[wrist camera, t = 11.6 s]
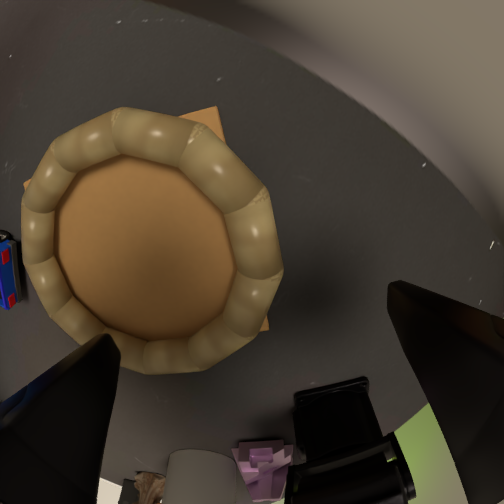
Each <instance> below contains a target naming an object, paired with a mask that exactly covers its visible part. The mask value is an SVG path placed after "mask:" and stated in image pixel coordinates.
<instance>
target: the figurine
mask: <svg viewBox="0 0 504 504" xmlns="http://www.w3.org/2000/svg"><path fill="white" fill-rule="evenodd" d="M134 478H135V480H136V482H135V483H134V485H135V488H137V489H138V490H139V492H140V493H139V494H138V496H139V500H138V501H137V502H134V503H132V504H162V503H160V501H161V499H162V498H163V492H164V486H165V480H166V477H164V476H162V475H159V474H156V473H149V472H139V473H138V475H136V476H135V477H134Z"/></svg>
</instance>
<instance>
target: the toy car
mask: <svg viewBox="0 0 504 504" xmlns="http://www.w3.org/2000/svg"><path fill="white" fill-rule="evenodd" d="M21 300H22V293H21V286H20V278H19V270H18V260H17V247H16V242H15V241H13V240H11V241H10V239H9V233H8V232H7V231H4V230H0V306H2V307H3V308H4V309H7V310H9V309H10V308H11V307H12V306H13V305H14V304H15V303H16V302H18V303H19V302H20V301H21Z"/></svg>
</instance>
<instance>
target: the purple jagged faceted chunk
mask: <svg viewBox="0 0 504 504" xmlns="http://www.w3.org/2000/svg"><path fill="white" fill-rule="evenodd" d="M231 450H232V453H233V455H234V458H235V461H236V463H237V466H238V468H239V471H240V473H241V475H242V478H243V480H244V482H245V484H246V487H247V489H248V491H249V493H250V495H251V498H252V500H253V502H262V501H265V500H271V501H280V500H281V497H282V495H283V492H284V489H285V486H286V475H287V474H288V466H290V465H292V464H293V456H292V455H293V444H292V445H284V441H283V440H272V441H257V442H239V448H231Z"/></svg>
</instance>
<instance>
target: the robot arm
mask: <svg viewBox="0 0 504 504" xmlns="http://www.w3.org/2000/svg"><path fill="white" fill-rule="evenodd" d="M387 310H388V314H389V316H390V318H391V321H392V323H393V326H394V328H395V331H396V333H397V336H398V338H399V341H400V344H401V346H402V348H403V351H404V353H405V355H406V357H407V359H408V361H409V363H410V365H411V367H412V369H413V371H414V373H415V375H416V377H417V379H418V381H419V383H420V385H421V387H422V389H423V391H424V393H425V395H426V397H427V399H428V402H429V404H430V406H431V408H432V410H433V412H434V415H435V417H436V419H437V421H438V424H439V426H440V428H441V431H442V433H443V435H444V438H445V440H446V442H447V445H448V447H449V450H450V453H451V455H452V458H453V460H454V462H455V466H456V468H457V471H458V474H459V477H460V480H461V482H462V485H463V488H464V491H465V494H466V497H467V501H468V504H497V503H499V502H501V501H502V500H503V499H504V319H502V318H500V317H497V316H495V315H490V313H487V312H484V311H482V310H479V309H477V308H474V307H472V306H469V305H466V304H464V303H461V302H459V301H456V300H453V299H451V298H448V297H445V296H443V295H440V294H437V293H435V292H432V291H429V290H427V289H424V288H421V287H419V286H416V285H413V284H410V283H408V282H405V281H402V280H398V281H394V282H391V283H389V285H388V292H387ZM120 362H121V352H120V350H119V348H118V347H117V345H116V343H115V341H114V340H113V338H112V336H111V335H110V334H109V333H101V334H97V335H96V336H95V337H93V338H92V339H90V340H89V341H87V342H86V343H85V344H83V345H82V346H80V347H79V348H78V349H76V350H75V351H73V352H72V353H71V354H69V355H68V356H66V357H65V358H64V359H62V360H61V361H59V362H58V363H57V364H55V365H54V366H52V367H51V368H50V369H48V370H47V371H46V372H44V373H43V374H41V375H40V376H39V377H37V378H36V379H35V380H33V381H32V382H30V383H29V384H28V386H27V385H26V386H25V387H24V388H22V389H21V390H19V391H18V392H17V393H15V394H14V395H12V396H11V397H10V398H8V399H7V400H5V401H4V402H2V403H1V404H0V504H97V499H96V498H97V494H98V486H99V479H100V472H101V466H102V460H103V454H104V448H105V443H106V438H107V433H108V428H109V423H110V418H111V414H112V409H113V405H114V400H115V396H116V389H117V382H118V375H119V369H120ZM368 391H369V380H368V378H366V377H364V378H360V379H356V380H352V381H348V382H345V383H341V384H336V385H332V386H328V387H324V388H319V389H314V390H310V391H305V392H300V393H297V394H296V395H295V401H296V406H297V410H294V411H293V413H292V415H293V422H294V430H295V438H296V446H297V451H298V455H299V459H301V460H305V459H306V463H303V464H299V465H290V466H288V474H287V475H286V488H285V500H284V504H408V500H411V499H414V498H416V491H415V487H414V482H413V479H412V476H411V473H410V470H409V467H408V464H407V462H406V460H405V457H404V455H403V453H402V450H401V448H400V445H399V443H398V441H397V438H396V436H395V434H394V431H393V432H391V433H388V434H387V435H386V436H384V437H383V435H382V432H381V429H380V426H379V423H378V421H377V418H376V415H375V412H374V410H373V407H372V404H371V401H370V399H369V396H368ZM391 458H392V459H393V460H392V461H389V462H387V460H389V459H391Z"/></svg>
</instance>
